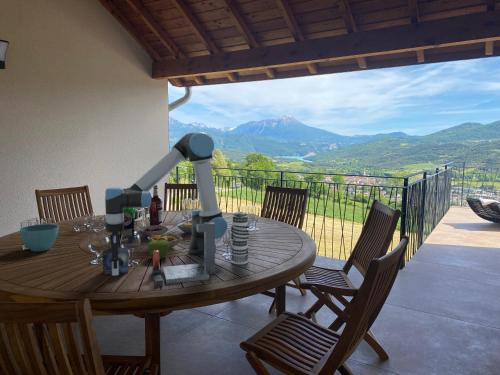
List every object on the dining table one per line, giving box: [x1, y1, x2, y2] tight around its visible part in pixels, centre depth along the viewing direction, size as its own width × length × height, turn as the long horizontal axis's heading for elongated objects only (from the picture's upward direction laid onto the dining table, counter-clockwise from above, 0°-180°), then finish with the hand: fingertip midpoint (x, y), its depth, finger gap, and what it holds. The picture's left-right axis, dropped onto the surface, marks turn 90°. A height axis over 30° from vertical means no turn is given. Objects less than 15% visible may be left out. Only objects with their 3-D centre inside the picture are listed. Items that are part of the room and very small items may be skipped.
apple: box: [147, 239, 171, 260], centre depth 177 cm, size 11×10×10 cm
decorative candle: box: [230, 211, 250, 265], centre depth 173 cm, size 9×9×25 cm
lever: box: [151, 250, 162, 275], centre depth 154 cm, size 4×4×10 cm
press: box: [152, 222, 216, 288], centre depth 153 cm, size 18×26×23 cm
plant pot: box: [19, 223, 60, 253], centre depth 189 cm, size 18×18×12 cm
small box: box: [102, 246, 130, 276], centre depth 156 cm, size 11×6×10 cm, turn 105°
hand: (115, 271), depth 157 cm, fingers open, 8 cm apart
